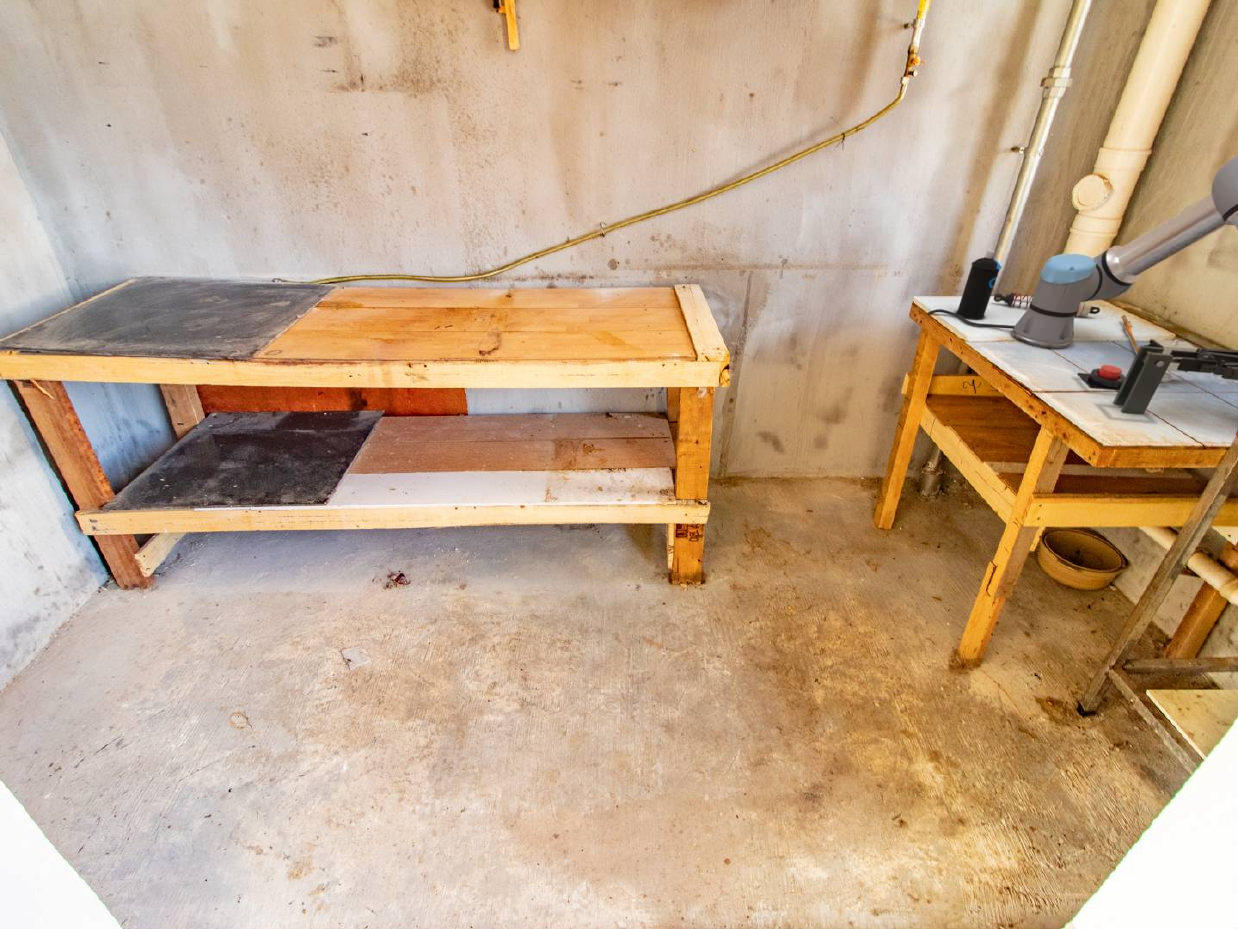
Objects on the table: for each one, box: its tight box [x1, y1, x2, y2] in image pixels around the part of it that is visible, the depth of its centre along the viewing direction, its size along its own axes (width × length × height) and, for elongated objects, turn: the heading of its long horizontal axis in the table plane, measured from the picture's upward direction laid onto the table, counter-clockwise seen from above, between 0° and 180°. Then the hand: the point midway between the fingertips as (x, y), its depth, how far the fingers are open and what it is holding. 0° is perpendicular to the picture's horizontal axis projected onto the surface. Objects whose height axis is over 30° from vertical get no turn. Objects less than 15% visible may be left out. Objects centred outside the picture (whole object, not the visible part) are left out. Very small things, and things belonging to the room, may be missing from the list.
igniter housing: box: [1076, 367, 1126, 392], centre depth 163 cm, size 10×8×4 cm
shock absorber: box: [993, 292, 1101, 318], centre depth 209 cm, size 5×5×30 cm
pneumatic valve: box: [1143, 338, 1201, 383], centre depth 164 cm, size 6×12×12 cm, turn 82°
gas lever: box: [1142, 351, 1214, 363], centre depth 144 cm, size 13×4×4 cm, turn 80°
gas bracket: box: [1112, 345, 1174, 416], centre depth 149 cm, size 9×7×16 cm
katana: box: [1121, 315, 1140, 356], centre depth 189 cm, size 1×35×3 cm, turn 154°
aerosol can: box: [955, 249, 1002, 321], centre depth 201 cm, size 8×8×20 cm
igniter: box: [1098, 364, 1123, 379], centre depth 162 cm, size 4×4×2 cm
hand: (1175, 360), depth 145 cm, fingers closed on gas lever, 4 cm apart
